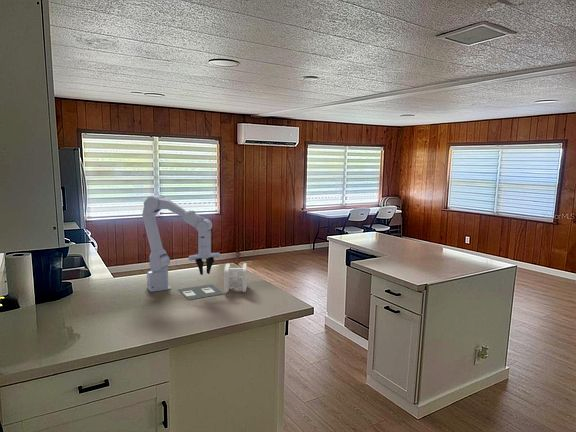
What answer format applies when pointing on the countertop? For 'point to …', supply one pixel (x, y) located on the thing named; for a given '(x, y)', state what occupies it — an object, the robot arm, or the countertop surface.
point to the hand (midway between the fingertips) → (204, 273)
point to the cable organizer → (235, 277)
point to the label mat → (200, 292)
